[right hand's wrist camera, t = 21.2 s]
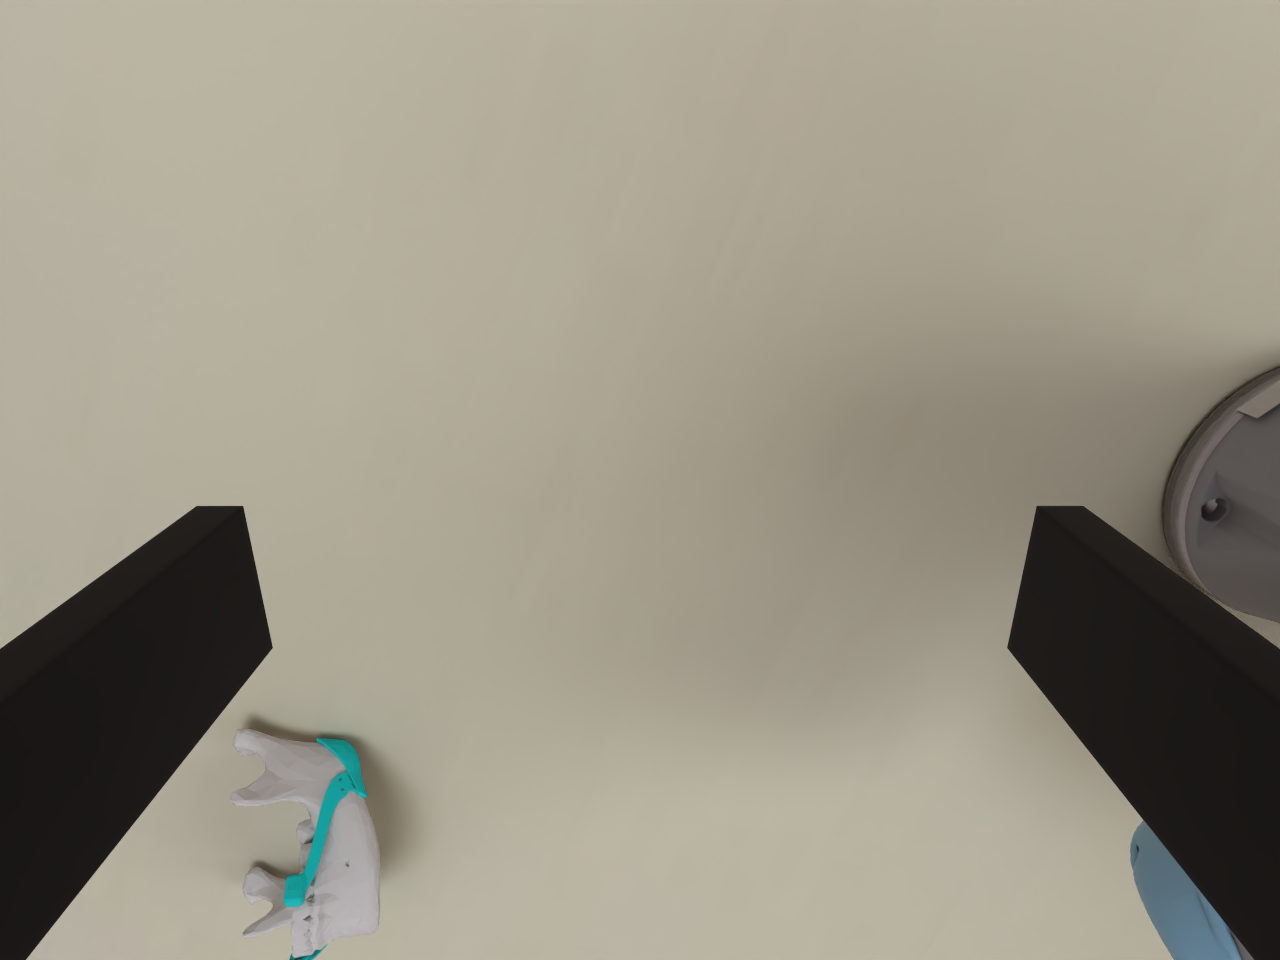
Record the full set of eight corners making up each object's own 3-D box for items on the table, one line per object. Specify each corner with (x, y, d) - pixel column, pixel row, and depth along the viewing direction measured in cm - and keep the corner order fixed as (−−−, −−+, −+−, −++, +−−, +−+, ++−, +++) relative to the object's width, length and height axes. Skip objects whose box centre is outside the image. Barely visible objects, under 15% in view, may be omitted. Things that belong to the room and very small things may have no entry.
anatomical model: (376, 1021, 47) (198, 1041, 44) (394, 878, 56) (247, 888, 54) (375, 834, 41) (171, 847, 39) (395, 710, 51) (232, 715, 49)
